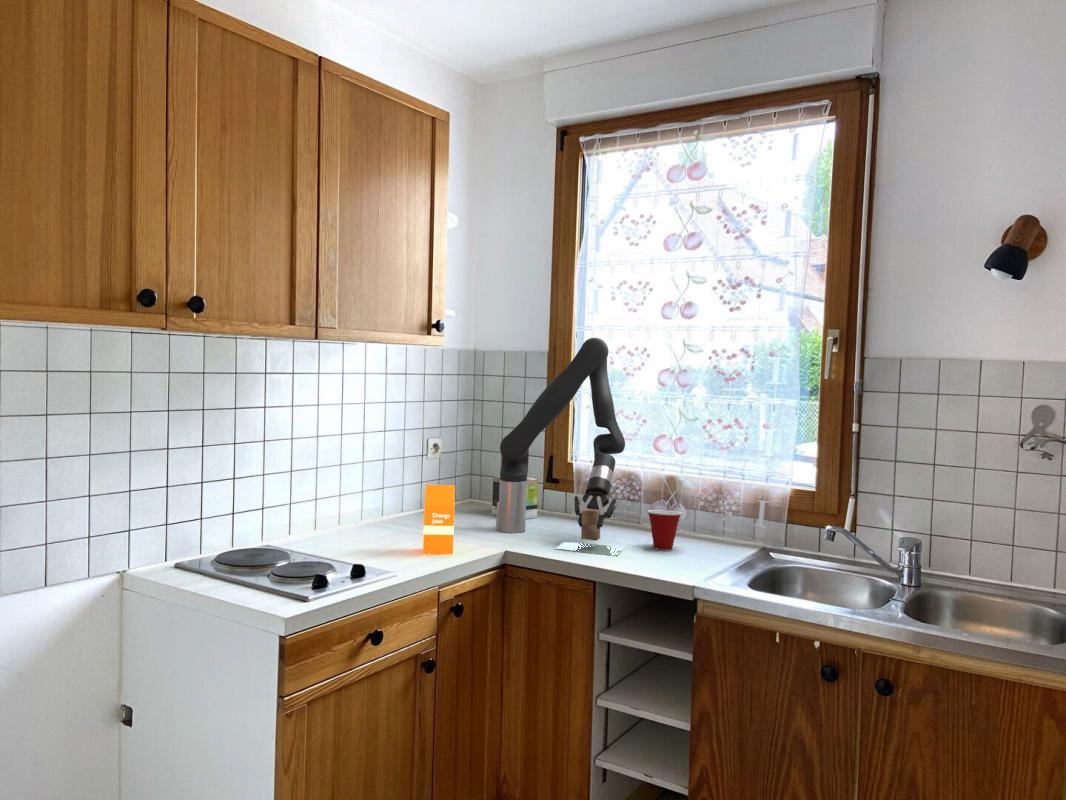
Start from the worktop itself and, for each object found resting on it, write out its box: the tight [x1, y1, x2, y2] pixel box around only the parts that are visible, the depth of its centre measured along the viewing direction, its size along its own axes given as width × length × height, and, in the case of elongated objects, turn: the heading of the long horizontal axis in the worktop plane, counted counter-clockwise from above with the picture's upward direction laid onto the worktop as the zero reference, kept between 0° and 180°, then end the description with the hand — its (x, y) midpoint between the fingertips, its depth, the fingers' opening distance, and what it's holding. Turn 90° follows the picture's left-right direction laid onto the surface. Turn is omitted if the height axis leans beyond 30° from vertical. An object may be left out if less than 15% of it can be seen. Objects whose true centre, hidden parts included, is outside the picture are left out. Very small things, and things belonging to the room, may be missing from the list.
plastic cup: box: [646, 509, 683, 550], centre depth 249 cm, size 11×11×12 cm
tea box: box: [491, 475, 539, 520], centre depth 293 cm, size 15×10×15 cm
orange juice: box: [422, 484, 456, 555], centre depth 233 cm, size 8×9×20 cm
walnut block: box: [580, 508, 601, 541], centre depth 244 cm, size 5×4×9 cm
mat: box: [573, 542, 620, 556], centre depth 244 cm, size 20×12×1 cm, turn 72°
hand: (589, 526), depth 242 cm, fingers closed on walnut block, 5 cm apart
